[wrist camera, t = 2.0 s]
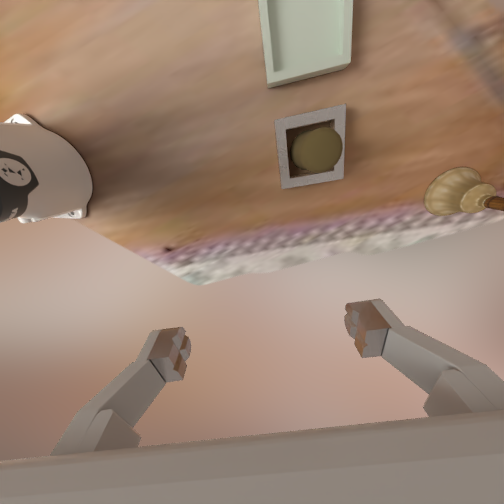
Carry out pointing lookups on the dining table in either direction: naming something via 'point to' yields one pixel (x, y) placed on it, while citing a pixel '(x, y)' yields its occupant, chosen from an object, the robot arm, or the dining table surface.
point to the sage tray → (305, 38)
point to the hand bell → (460, 193)
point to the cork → (316, 149)
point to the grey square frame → (319, 116)
